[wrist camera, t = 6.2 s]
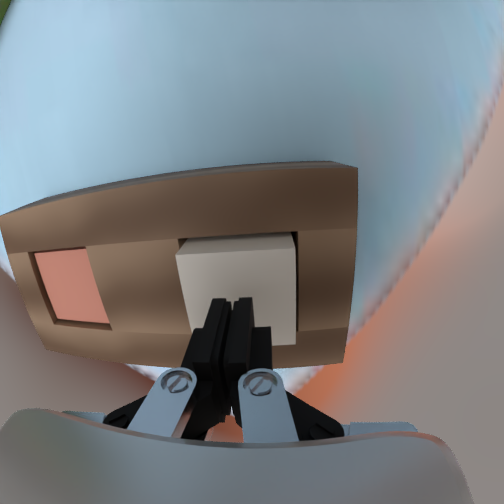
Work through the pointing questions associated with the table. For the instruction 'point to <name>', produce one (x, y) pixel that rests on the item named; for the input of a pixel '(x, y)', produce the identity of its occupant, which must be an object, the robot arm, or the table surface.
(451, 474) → the robot arm
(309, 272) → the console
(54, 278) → the key red
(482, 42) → the table surface
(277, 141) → the table surface
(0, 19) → the first aid kit
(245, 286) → the key ivory
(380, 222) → the table surface
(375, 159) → the table surface
